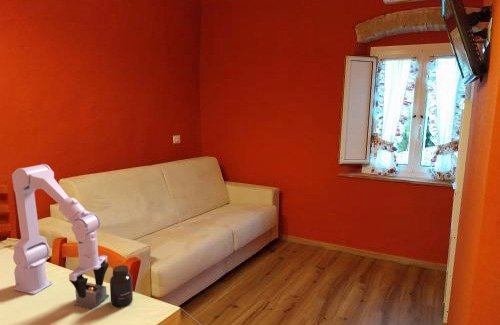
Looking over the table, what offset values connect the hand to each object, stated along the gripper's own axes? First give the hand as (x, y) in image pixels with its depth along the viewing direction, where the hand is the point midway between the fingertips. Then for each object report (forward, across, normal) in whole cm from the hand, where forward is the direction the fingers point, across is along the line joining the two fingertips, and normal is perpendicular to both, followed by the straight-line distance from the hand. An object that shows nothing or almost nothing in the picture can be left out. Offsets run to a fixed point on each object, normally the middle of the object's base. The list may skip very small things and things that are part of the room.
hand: (91, 290), depth 114 cm
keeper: (+4, 0, 0) cm, 4 cm away
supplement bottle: (+4, +2, -10) cm, 11 cm away
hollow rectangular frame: (+3, 0, 0) cm, 3 cm away
